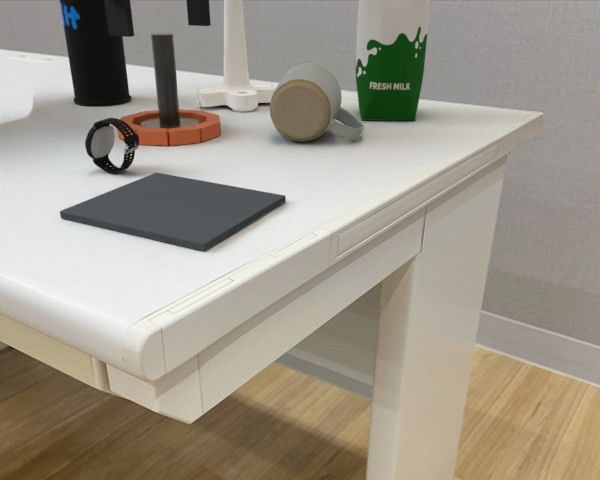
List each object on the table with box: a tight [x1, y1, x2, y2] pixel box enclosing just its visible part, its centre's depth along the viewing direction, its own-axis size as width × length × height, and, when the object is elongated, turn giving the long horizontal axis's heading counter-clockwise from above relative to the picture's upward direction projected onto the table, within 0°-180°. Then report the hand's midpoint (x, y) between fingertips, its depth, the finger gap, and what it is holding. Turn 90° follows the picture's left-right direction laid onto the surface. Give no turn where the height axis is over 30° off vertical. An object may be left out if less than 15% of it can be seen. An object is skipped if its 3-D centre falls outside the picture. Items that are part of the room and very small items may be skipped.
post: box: [140, 32, 200, 128], centre depth 73 cm, size 7×7×11 cm
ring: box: [117, 108, 222, 147], centre depth 76 cm, size 12×12×2 cm
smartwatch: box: [84, 117, 140, 175], centre depth 61 cm, size 4×5×5 cm
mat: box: [59, 172, 287, 252], centre depth 52 cm, size 14×12×1 cm
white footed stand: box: [196, 0, 277, 113], centre depth 85 cm, size 11×8×20 cm
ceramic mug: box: [269, 62, 365, 143], centre depth 73 cm, size 11×8×8 cm
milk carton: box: [355, 0, 431, 122], centre depth 81 cm, size 9×9×20 cm
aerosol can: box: [59, 0, 132, 107], centre depth 88 cm, size 8×8×20 cm
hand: (163, 30), depth 71 cm, fingers open, 13 cm apart
